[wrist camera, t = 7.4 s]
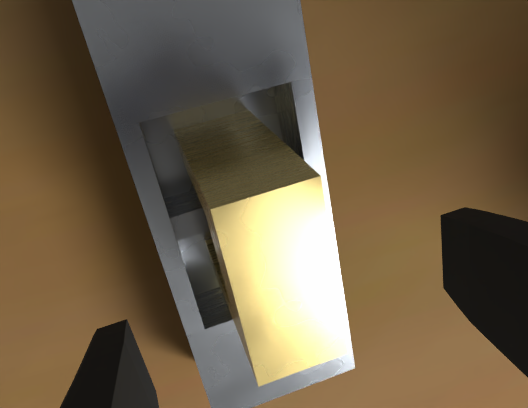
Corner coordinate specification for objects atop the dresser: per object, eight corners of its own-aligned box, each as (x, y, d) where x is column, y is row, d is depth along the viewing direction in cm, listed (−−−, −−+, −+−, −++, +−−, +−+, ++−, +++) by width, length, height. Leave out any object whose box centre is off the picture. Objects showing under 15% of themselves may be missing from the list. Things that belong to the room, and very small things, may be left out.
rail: (323, 320, 21) (354, 367, 19) (201, 364, 21) (216, 421, 18) (253, -78, 15) (286, -90, 12) (66, -39, 14) (57, -43, 11)
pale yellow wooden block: (276, 243, 18) (347, 353, 13) (211, 264, 18) (258, 386, 12) (248, 109, 16) (321, 175, 11) (173, 130, 15) (210, 209, 10)
